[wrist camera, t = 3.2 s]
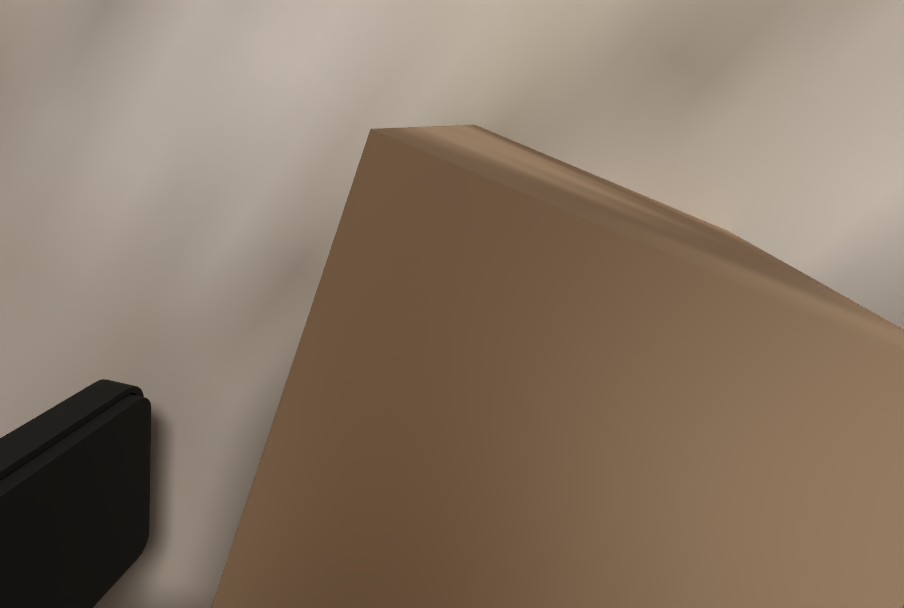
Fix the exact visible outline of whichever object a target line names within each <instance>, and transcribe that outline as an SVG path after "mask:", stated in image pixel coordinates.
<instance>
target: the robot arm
mask: <svg viewBox="0 0 904 608" xmlns="http://www.w3.org/2000/svg"><path fill="white" fill-rule="evenodd" d="M150 442H151V403H150V401H149V400H148V399H147V398H144V396H143V392H142V390H141V389H140V388H139V387H137V386H132V385H128V384H124V383H119V382H115V381H110V380H103V379H102V380H99V381H97V382H95V383H93V384H92V385H90V386H88V387H87V388H85V389H83V390H81V391H80V392H78V393H76V394H75V395H73V396H71V397H70V398H68V399H66V400H65V401H63V402H61V403H59V404H58V405H56V406H54V407H53V408H51V409H49V410H48V411H46V412H44V413H43V414H41V415H39V416H37V417H36V418H34V419H32V420H31V421H29V422H27V423H26V424H24V425H22V426H21V427H19V428H17V429H15V430H14V431H12V432H10V433H9V434H7V435H5V436H4V437H2V438H0V608H93V607H94V606H95V605H96V603H97V602H98V601H99V600H100V599H101V598H102V597H103V596H104V595H105V594H106V592H107V591H108V590H109V589H110V588H111V587H112V586H113V585H114V584H115V583H116V582H117V580H118V579H119V578H120V577H121V576H122V575H123V574H124V573H125V572H126V571H127V569H128V568H129V567H130V566H131V565H132V564H133V563H134V562H135V561H136V560H137V558H138V557H139V556H140V555H141V553H142V551H143V550H144V548H145V545H146V543H147V540H148V536H149V504H150Z"/></svg>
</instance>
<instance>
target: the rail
mask: <svg viewBox="0 0 904 608" xmlns="http://www.w3.org/2000/svg"><path fill="white" fill-rule="evenodd" d="M903 606H904V330H903V329H901V328H900V327H898V326H896V325H894V324H893V323H891V322H889V321H887V320H885V319H884V318H882V317H880V316H878V315H877V314H875V313H873V312H871V311H869V310H868V309H866V308H864V307H862V306H861V305H859V304H857V303H855V302H854V301H852V300H850V299H848V298H846V297H845V296H843V295H841V294H839V293H838V292H836V291H834V290H832V289H830V288H829V287H827V286H825V285H823V284H822V283H820V282H818V281H816V280H814V279H813V278H811V277H809V276H807V275H806V274H804V273H802V272H800V271H798V270H797V269H795V268H793V267H791V266H790V265H788V264H786V263H784V262H782V261H781V260H779V259H777V258H775V257H774V256H772V255H770V254H768V253H766V252H765V251H763V250H761V249H759V248H758V247H756V246H754V245H752V244H750V243H749V242H747V241H745V240H743V239H742V238H740V237H738V236H736V235H734V234H733V233H731V232H729V231H727V230H725V229H722V228H720V227H717V226H715V225H713V224H710V223H708V222H706V221H703V220H701V219H698V218H696V217H694V216H691V215H689V214H686V213H684V212H682V211H679V210H677V209H674V208H672V207H670V206H667V205H665V204H663V203H660V202H658V201H655V200H653V199H651V198H648V197H646V196H643V195H641V194H639V193H636V192H634V191H631V190H629V189H627V188H624V187H622V186H620V185H617V184H615V183H612V182H610V181H608V180H605V179H603V178H600V177H598V176H596V175H593V174H591V173H588V172H586V171H584V170H581V169H579V168H576V167H574V166H572V165H569V164H567V163H565V162H562V161H560V160H557V159H555V158H553V157H550V156H548V155H545V154H543V153H541V152H538V151H536V150H533V149H531V148H529V147H526V146H524V145H522V144H519V143H517V142H514V141H512V140H510V139H507V138H505V137H502V136H500V135H498V134H495V133H493V132H490V131H488V130H486V129H483V128H481V127H478V126H476V125H456V126H432V127H408V128H383V129H370V132H369V135H368V138H367V141H366V144H365V147H364V150H363V153H362V156H361V159H360V162H359V165H358V168H357V171H356V175H355V178H354V181H353V184H352V187H351V190H350V193H349V196H348V199H347V202H346V205H345V208H344V211H343V214H342V217H341V220H340V223H339V226H338V229H337V232H336V235H335V238H334V241H333V244H332V247H331V250H330V253H329V256H328V259H327V262H326V265H325V268H324V271H323V274H322V277H321V280H320V283H319V286H318V289H317V292H316V295H315V298H314V301H313V304H312V307H311V310H310V313H309V316H308V319H307V322H306V325H305V328H304V331H303V334H302V337H301V340H300V343H299V346H298V349H297V352H296V355H295V358H294V361H293V364H292V367H291V370H290V373H289V376H288V379H287V382H286V385H285V388H284V391H283V394H282V397H281V400H280V403H279V406H278V409H277V412H276V415H275V418H274V421H273V424H272V427H271V430H270V433H269V436H268V439H267V442H266V445H265V448H264V451H263V454H262V457H261V460H260V463H259V466H258V469H257V472H256V475H255V478H254V481H253V484H252V487H251V490H250V493H249V496H248V499H247V502H246V505H245V508H244V511H243V514H242V517H241V520H240V523H239V526H238V529H237V532H236V535H235V538H234V541H233V544H232V547H231V550H230V553H229V556H228V559H227V562H226V565H225V568H224V571H223V574H222V577H221V580H220V583H219V586H218V589H217V592H216V595H215V598H214V601H213V604H212V607H211V608H902V607H903Z"/></svg>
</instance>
